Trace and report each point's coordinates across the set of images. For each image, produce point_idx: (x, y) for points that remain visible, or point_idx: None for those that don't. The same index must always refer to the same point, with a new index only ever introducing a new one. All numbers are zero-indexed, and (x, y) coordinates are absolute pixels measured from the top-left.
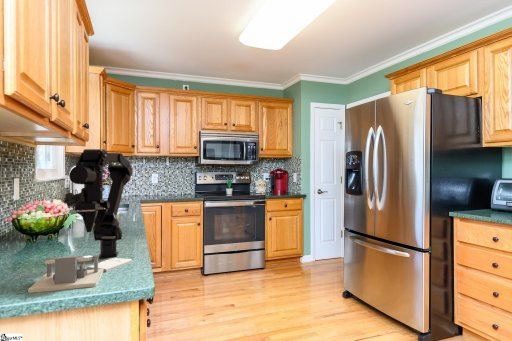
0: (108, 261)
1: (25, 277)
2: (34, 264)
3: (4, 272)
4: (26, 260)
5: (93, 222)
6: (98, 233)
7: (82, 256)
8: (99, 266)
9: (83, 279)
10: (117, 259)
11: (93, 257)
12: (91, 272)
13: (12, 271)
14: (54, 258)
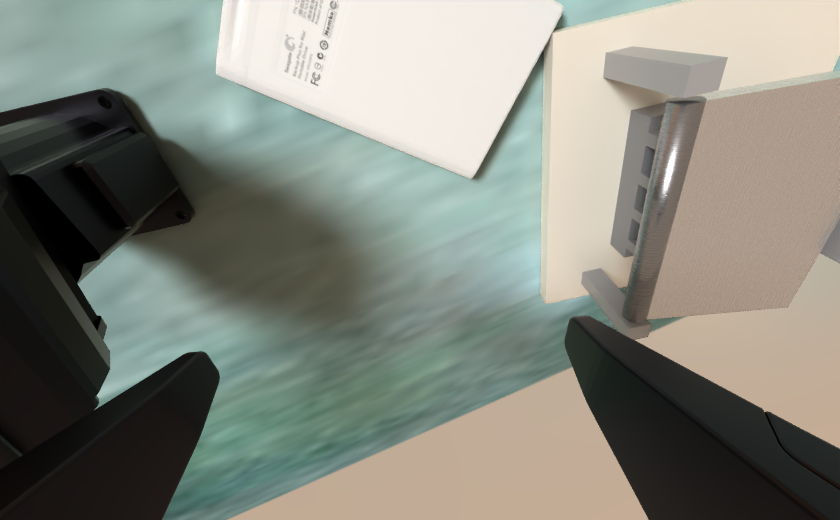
0: (346, 75)
1: (523, 350)
2: (346, 407)
3: (442, 424)
4: (290, 450)
5: (743, 404)
6: (94, 340)
7: (681, 181)
8: (482, 93)
9: (751, 79)
10: (274, 10)
11: (676, 101)
12: (618, 90)
13: (434, 414)
14: (646, 314)
